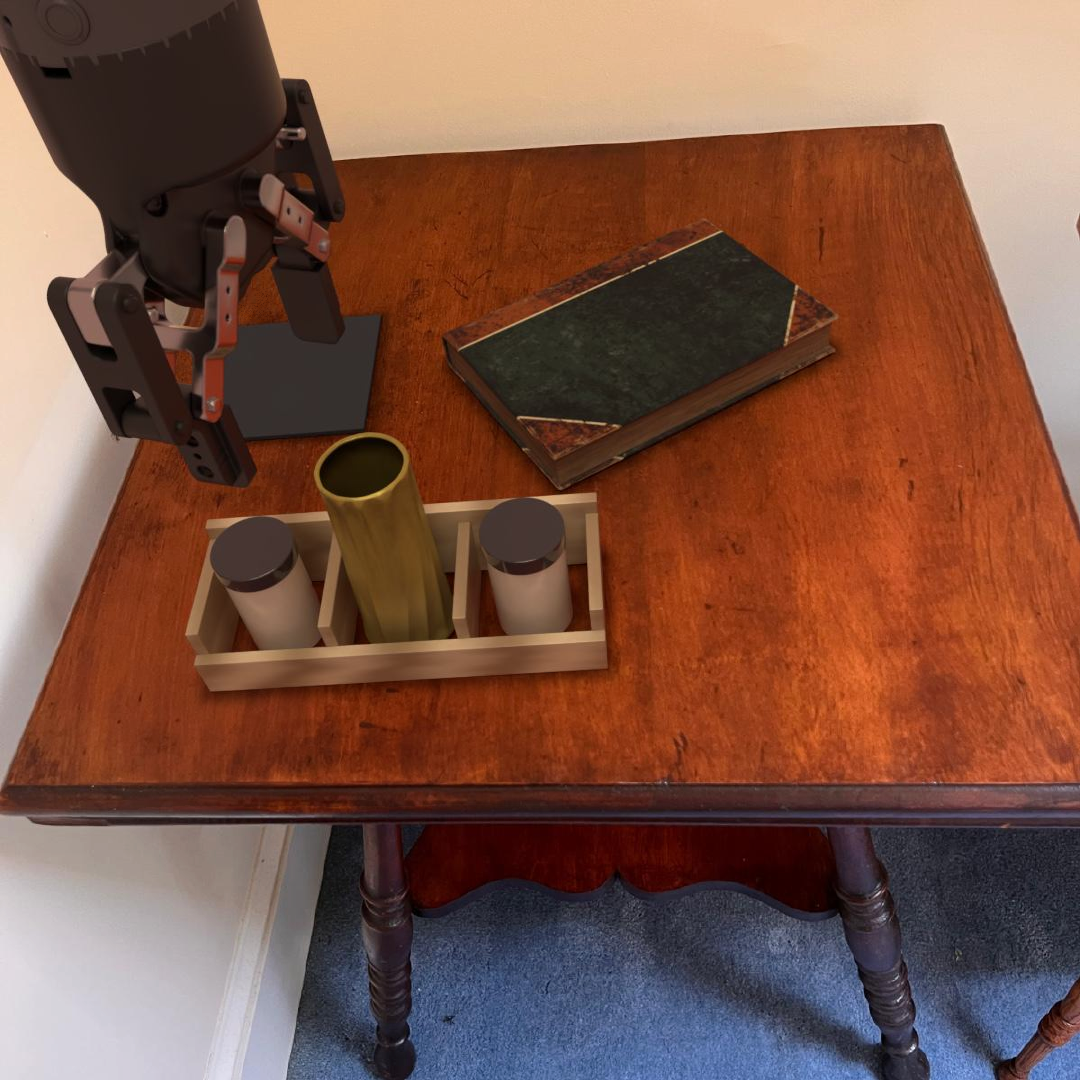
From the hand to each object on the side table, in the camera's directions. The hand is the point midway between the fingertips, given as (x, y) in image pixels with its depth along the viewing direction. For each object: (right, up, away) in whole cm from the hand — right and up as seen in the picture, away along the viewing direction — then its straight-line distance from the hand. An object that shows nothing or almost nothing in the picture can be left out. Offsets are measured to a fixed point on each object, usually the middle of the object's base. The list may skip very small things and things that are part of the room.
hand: (278, 404), depth 42 cm
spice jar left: (-6, -11, +25) cm, 28 cm away
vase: (+2, -11, +25) cm, 27 cm away
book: (+18, +9, +39) cm, 44 cm away
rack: (+2, -11, +24) cm, 27 cm away
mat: (-10, +8, +41) cm, 43 cm away
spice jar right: (+10, -10, +24) cm, 28 cm away
